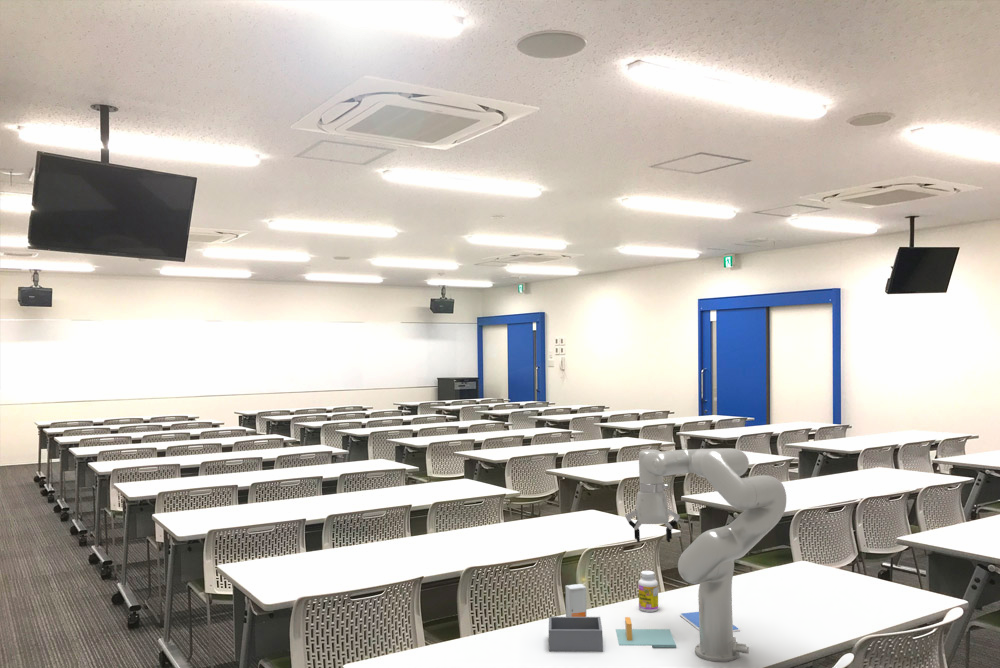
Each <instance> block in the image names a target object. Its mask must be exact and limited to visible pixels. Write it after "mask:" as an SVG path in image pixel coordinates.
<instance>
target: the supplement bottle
mask: <svg viewBox="0 0 1000 668" xmlns="http://www.w3.org/2000/svg"><path fill="white" fill-rule="evenodd" d="M655 576H656V574H655V572H654V571H652V570H643V571H641V572H640V577H641V578H640V579H639V580H638V609H639V610H640V611H642V612H644V613H655V612H657V611H658V610H659V587H658V585H659V584H658V581H657V579H655Z"/></svg>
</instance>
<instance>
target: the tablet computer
mask: <svg viewBox="0 0 1000 668" xmlns="http://www.w3.org/2000/svg"><path fill="white" fill-rule="evenodd" d="M679 617H681V618H683V620H685V621H686V622H687V623H689V624H690V625H691V626H692V627H694V628H695V629H697V630H698V631H699V632H700V629H699V611H692V612H681V613H680V614H679ZM740 632H741V629H740V628H739V627H737V626H736V625H734V624H733V633H740Z"/></svg>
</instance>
